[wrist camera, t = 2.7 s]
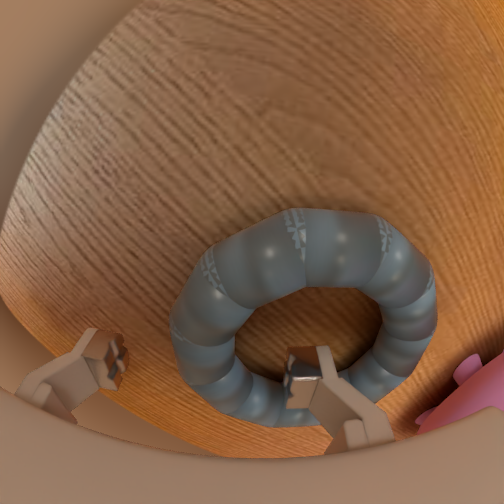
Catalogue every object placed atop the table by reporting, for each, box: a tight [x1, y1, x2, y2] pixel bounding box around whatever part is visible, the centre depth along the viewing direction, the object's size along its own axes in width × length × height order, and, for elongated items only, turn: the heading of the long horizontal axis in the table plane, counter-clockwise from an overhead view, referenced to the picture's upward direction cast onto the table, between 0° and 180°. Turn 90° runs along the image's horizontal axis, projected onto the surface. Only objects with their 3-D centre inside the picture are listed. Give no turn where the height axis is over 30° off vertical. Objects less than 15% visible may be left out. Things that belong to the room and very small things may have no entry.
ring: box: [169, 208, 438, 428], centre depth 10 cm, size 11×11×2 cm
